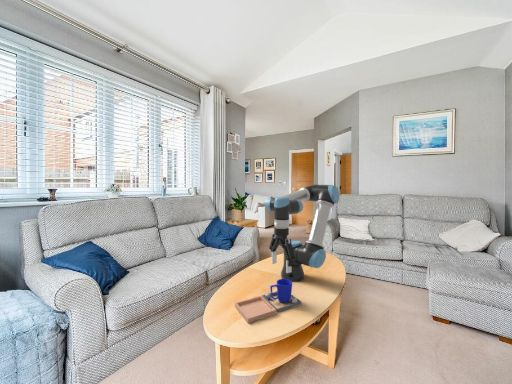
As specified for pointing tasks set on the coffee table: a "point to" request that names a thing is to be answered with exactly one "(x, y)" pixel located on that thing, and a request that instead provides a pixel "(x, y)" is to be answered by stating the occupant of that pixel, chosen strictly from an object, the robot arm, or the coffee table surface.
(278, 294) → the mug
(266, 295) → the pebble
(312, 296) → the coffee table surface
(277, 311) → the slate bin
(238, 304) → the terracotta dish
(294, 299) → the pebble
